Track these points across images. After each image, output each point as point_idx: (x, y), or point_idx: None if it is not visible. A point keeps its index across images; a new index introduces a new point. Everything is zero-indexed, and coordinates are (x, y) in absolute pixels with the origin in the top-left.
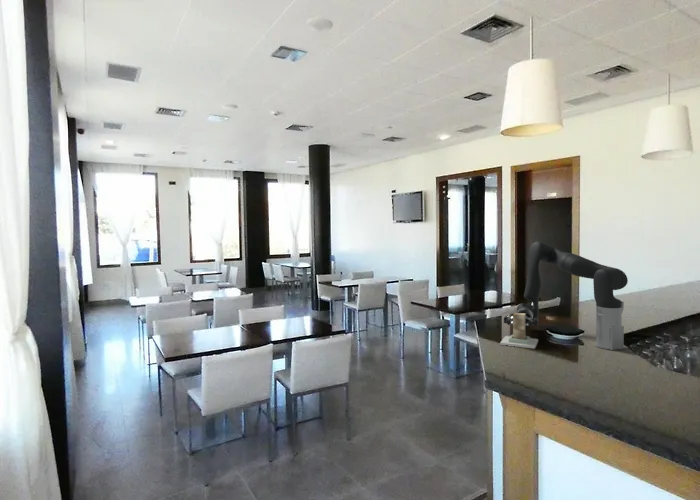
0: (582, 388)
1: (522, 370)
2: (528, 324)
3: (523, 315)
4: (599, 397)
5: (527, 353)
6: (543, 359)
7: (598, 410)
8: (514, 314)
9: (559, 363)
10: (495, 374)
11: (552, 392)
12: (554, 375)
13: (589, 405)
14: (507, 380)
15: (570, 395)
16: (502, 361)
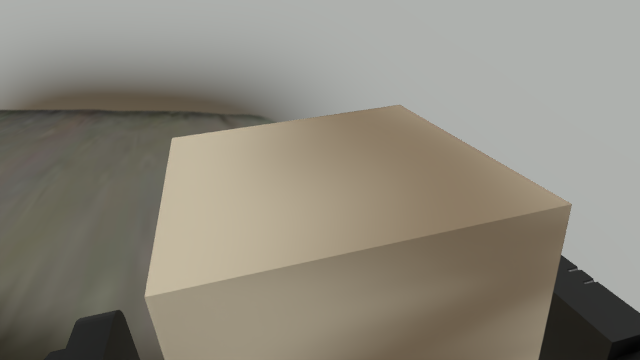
0: (26, 145)
1: None
2: (131, 342)
3: (190, 143)
4: (5, 135)
5: None
6: (92, 248)
7: (37, 113)
8: (374, 109)
9: (17, 242)
10: (246, 117)
11: (109, 118)
12: (82, 162)
13: (46, 116)
14: (209, 113)
15: (72, 122)
16: None
